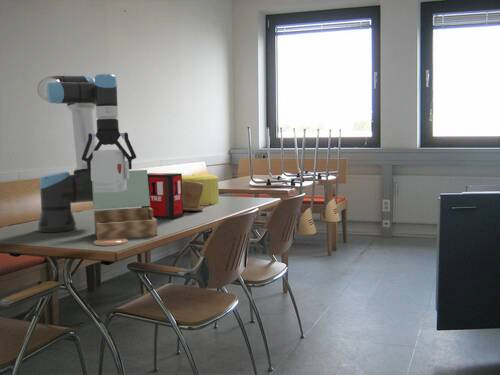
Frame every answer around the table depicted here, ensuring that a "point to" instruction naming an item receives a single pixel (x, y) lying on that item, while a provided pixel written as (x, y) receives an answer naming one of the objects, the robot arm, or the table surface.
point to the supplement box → (109, 171)
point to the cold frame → (125, 223)
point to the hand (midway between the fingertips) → (110, 179)
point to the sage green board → (125, 193)
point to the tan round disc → (110, 241)
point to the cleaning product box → (165, 195)
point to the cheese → (205, 187)
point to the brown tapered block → (191, 195)
